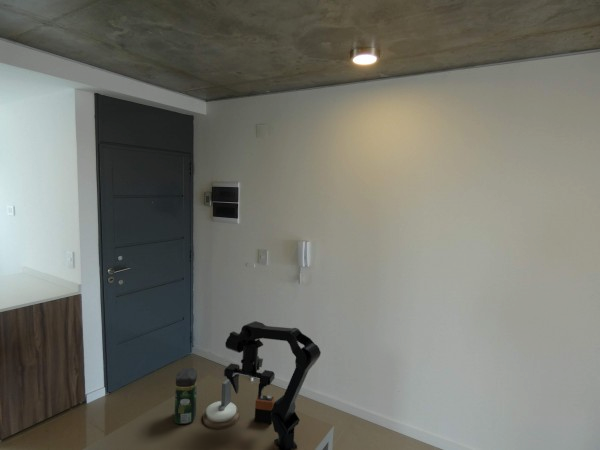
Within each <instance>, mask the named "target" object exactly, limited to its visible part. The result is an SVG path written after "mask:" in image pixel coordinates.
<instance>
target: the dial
mask: <svg viewBox="0 0 600 450" xmlns="http://www.w3.org/2000/svg"><path fill="white" fill-rule="evenodd" d="M231 399H232V384H231V382H230V381H229V379H227V378H226V379H225V380H224V381H223V382H222V383H221V398H220V401H219V400H218V401H215V402H213V403H211V404H209V405H208V406H207V407H206V409H207V410H206V409H205V410H206V416H207V418H208V419H209V420H211V421H214V422H225V421H228V420H231V419H232V418H233V417H234V416H235V415H236V408H237V406H236V404H234V403H233V402H231V401H232V400H231Z"/></svg>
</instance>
